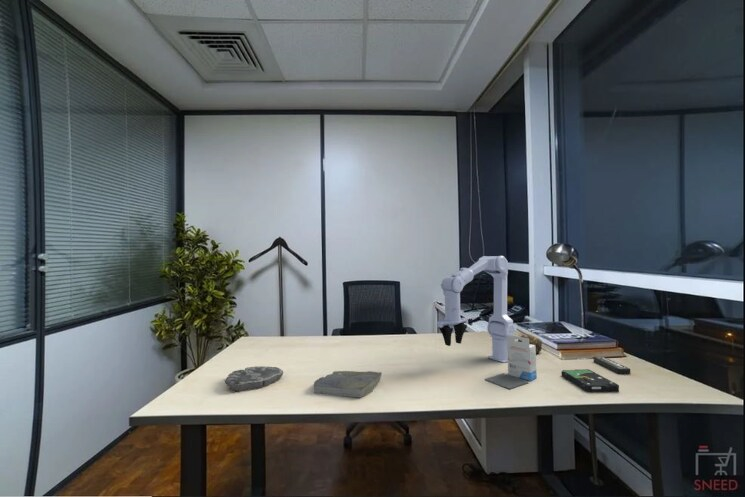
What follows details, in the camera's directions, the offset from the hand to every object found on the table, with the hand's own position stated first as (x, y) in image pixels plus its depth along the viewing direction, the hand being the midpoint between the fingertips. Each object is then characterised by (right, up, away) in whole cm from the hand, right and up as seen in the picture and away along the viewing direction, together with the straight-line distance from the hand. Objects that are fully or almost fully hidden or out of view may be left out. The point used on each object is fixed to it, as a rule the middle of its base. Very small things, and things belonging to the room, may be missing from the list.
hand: (453, 344), depth 124 cm
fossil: (-39, -11, -13) cm, 43 cm away
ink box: (+23, -10, -6) cm, 26 cm away
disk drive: (+43, -10, -13) cm, 46 cm away
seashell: (+41, -11, +25) cm, 49 cm away
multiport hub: (+62, -10, +2) cm, 63 cm away
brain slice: (-74, -12, -8) cm, 75 cm away
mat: (+16, -10, -11) cm, 22 cm away
